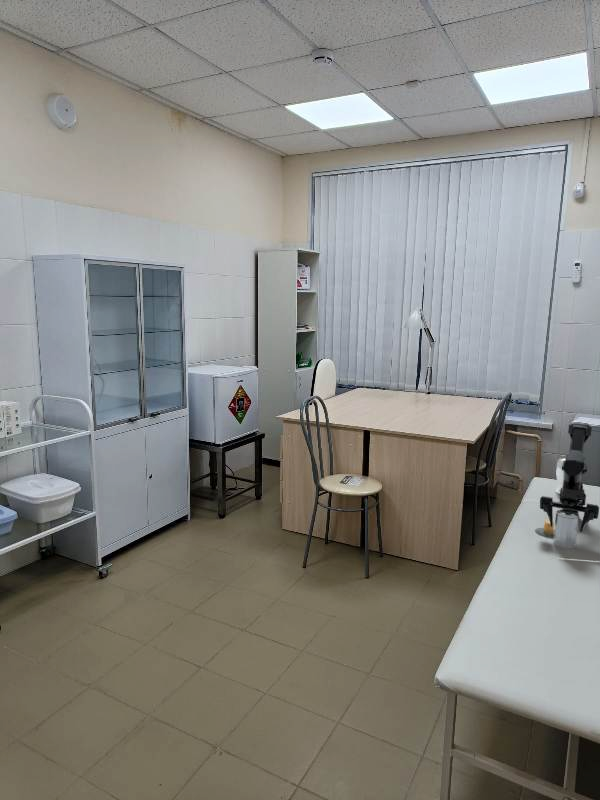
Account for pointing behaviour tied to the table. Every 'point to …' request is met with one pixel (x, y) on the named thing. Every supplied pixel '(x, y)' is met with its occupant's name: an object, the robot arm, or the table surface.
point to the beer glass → (559, 475)
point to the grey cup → (566, 529)
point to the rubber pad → (541, 532)
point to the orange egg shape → (548, 528)
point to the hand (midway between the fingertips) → (565, 529)
